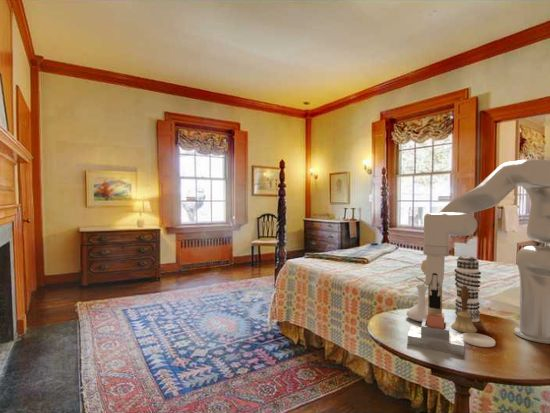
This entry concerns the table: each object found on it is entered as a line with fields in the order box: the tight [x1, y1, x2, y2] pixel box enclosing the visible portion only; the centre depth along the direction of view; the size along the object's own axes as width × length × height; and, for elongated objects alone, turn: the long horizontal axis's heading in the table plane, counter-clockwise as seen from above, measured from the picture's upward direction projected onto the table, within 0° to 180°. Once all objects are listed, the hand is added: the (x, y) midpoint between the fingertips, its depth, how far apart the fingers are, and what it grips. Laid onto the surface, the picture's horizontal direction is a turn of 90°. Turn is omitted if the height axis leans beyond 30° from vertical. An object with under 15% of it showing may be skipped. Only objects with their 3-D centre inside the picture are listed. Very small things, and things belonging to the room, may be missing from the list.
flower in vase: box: [406, 259, 428, 323], centre depth 129 cm, size 13×11×25 cm
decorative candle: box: [454, 255, 482, 323], centre depth 132 cm, size 9×9×25 cm
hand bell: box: [450, 286, 478, 333], centre depth 121 cm, size 8×8×16 cm
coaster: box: [461, 332, 496, 348], centre depth 110 cm, size 10×10×1 cm
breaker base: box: [407, 319, 465, 356], centre depth 107 cm, size 16×10×6 cm, turn 61°
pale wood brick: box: [427, 284, 443, 317], centre depth 107 cm, size 4×4×10 cm
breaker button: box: [427, 312, 445, 329], centre depth 107 cm, size 5×5×4 cm
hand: (435, 305), depth 107 cm, fingers closed on pale wood brick, 4 cm apart
